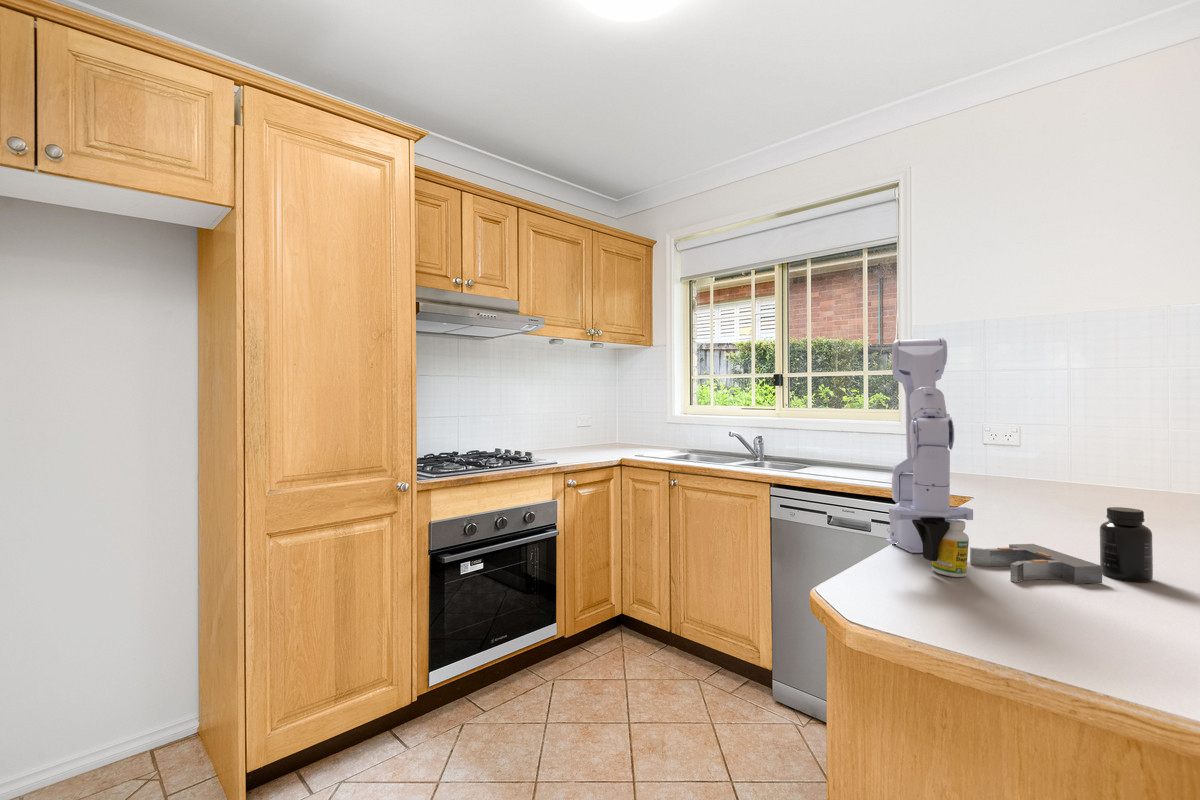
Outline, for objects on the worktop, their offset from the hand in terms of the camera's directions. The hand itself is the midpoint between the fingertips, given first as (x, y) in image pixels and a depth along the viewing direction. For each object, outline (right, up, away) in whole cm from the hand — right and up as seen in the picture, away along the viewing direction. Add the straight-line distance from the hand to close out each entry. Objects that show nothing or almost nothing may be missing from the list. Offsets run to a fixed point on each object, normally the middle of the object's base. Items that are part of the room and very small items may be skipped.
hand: (930, 559), depth 100 cm
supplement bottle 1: (+4, -3, 0) cm, 4 cm away
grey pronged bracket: (+19, -3, +1) cm, 19 cm away
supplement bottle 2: (+34, -3, -2) cm, 34 cm away
